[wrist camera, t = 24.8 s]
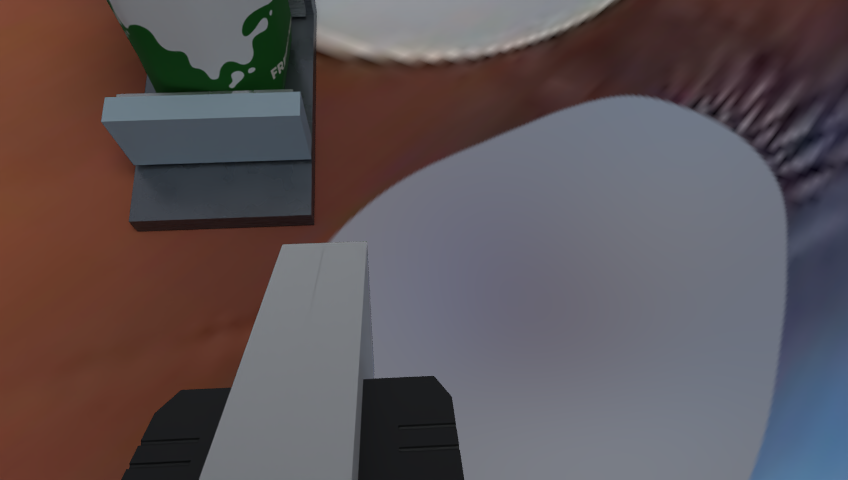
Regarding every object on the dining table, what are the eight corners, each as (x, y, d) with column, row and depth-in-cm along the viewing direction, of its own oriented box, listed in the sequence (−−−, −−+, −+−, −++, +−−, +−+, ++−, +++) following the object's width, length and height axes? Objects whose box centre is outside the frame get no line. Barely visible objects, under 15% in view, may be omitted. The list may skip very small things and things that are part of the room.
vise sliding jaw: (137, 137, 44) (105, 91, 39) (311, 131, 45) (300, 85, 40) (133, 165, 43) (101, 121, 39) (311, 159, 44) (300, 115, 39)
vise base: (163, 14, 50) (129, -56, 44) (316, 11, 51) (304, -59, 45) (137, 231, 44) (94, 183, 38) (314, 224, 44) (299, 176, 38)
